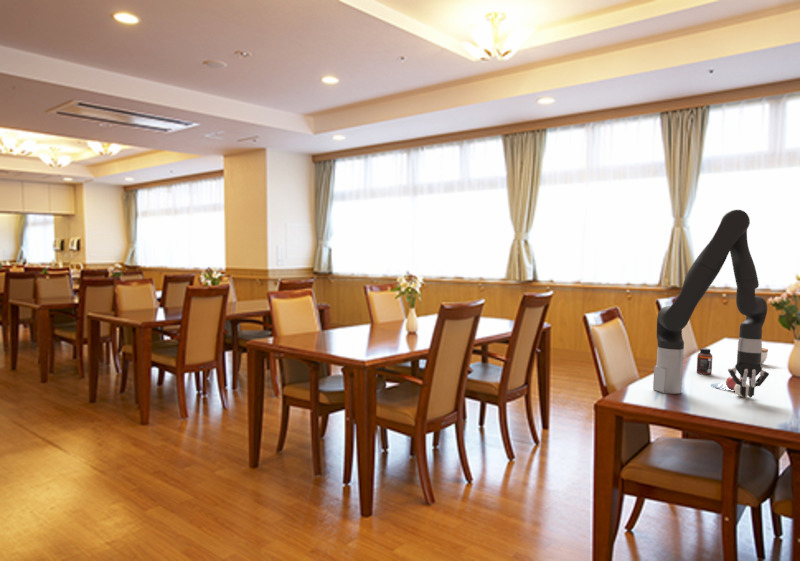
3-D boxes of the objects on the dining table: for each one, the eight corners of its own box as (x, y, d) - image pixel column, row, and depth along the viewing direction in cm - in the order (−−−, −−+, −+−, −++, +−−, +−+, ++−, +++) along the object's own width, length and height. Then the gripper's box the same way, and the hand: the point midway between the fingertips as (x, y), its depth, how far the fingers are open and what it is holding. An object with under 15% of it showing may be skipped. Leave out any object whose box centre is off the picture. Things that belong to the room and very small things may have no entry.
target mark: (730, 392, 217) (730, 392, 217) (702, 384, 231) (702, 383, 231) (759, 391, 221) (759, 390, 221) (730, 382, 234) (730, 382, 234)
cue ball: (738, 378, 215) (736, 390, 216) (732, 383, 211) (730, 396, 213) (754, 382, 211) (752, 395, 212) (748, 388, 207) (746, 401, 209)
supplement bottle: (713, 375, 248) (714, 350, 247) (698, 374, 249) (700, 349, 249) (708, 372, 254) (710, 348, 253) (694, 371, 255) (696, 347, 254)
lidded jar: (746, 360, 286) (747, 342, 285) (770, 364, 278) (771, 345, 277) (738, 362, 279) (739, 344, 278) (762, 366, 271) (763, 347, 270)
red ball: (733, 373, 220) (728, 373, 225) (725, 385, 220) (721, 384, 225) (746, 381, 218) (742, 381, 224) (738, 393, 219) (734, 392, 224)
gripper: (766, 349, 207) (764, 395, 208) (725, 347, 211) (723, 392, 212) (774, 353, 200) (771, 400, 201) (731, 350, 204) (729, 397, 205)
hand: (746, 396), depth 207 cm, fingers closed
